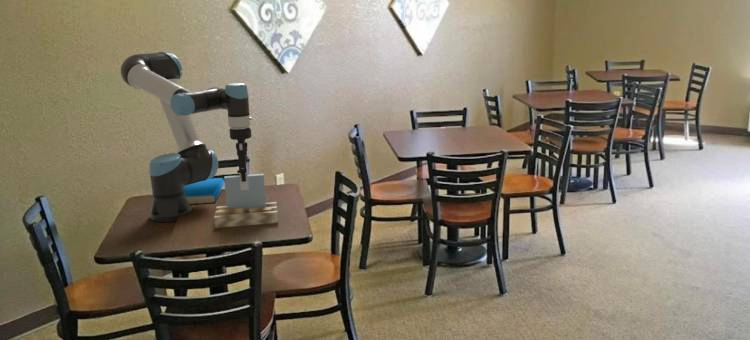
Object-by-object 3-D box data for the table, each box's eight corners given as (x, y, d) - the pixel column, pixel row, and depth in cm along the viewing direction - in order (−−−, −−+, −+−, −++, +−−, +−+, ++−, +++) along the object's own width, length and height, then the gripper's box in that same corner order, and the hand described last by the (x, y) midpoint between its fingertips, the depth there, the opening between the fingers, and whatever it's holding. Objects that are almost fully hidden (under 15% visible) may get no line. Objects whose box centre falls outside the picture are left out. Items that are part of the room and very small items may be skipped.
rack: (215, 231, 213) (214, 217, 212) (217, 220, 225) (216, 206, 223) (278, 226, 217) (277, 212, 216) (277, 215, 228) (276, 201, 227)
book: (172, 196, 243) (184, 179, 267) (174, 206, 245) (185, 188, 268) (215, 194, 245) (223, 176, 269) (217, 204, 246) (224, 186, 270)
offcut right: (249, 222, 217) (248, 211, 216) (250, 220, 219) (249, 208, 218) (272, 221, 218) (271, 209, 217) (272, 218, 221) (271, 207, 220)
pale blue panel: (227, 219, 221) (224, 177, 217) (228, 218, 223) (224, 176, 219) (266, 216, 223) (263, 175, 219) (266, 214, 225) (263, 173, 221)
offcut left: (218, 225, 215) (217, 212, 214) (219, 223, 217) (217, 210, 216) (244, 223, 217) (243, 210, 215) (244, 221, 219) (243, 208, 218)
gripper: (250, 133, 203) (255, 193, 208) (251, 120, 227) (255, 175, 232) (227, 134, 202) (233, 195, 207) (230, 122, 225) (236, 176, 231)
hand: (245, 184), depth 219 cm, fingers open, 13 cm apart
